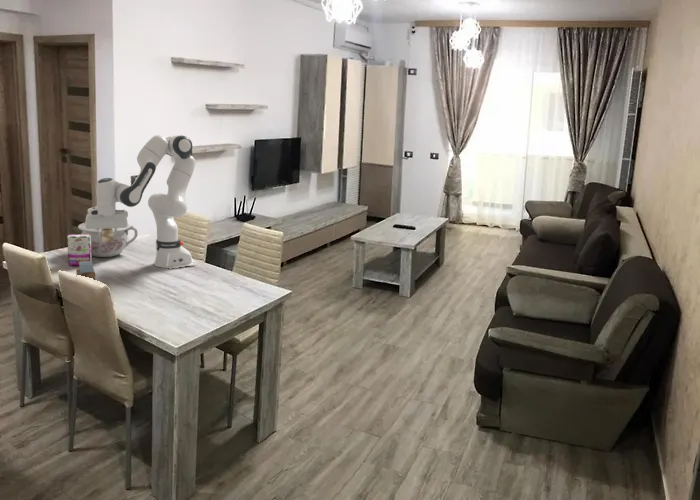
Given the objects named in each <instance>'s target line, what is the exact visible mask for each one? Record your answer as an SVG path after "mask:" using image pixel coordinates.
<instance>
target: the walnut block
mask: <svg viewBox="0 0 700 500" xmlns="http://www.w3.org/2000/svg"><path fill="white" fill-rule="evenodd" d="M94 268H95V267H93V272H86V273H80V268H76V272H75V273H76V276H77V275H81V276H85V277H89V278H93V280H96V271H95V269H94Z"/></svg>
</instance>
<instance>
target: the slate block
mask: <svg viewBox="0 0 700 500" xmlns="http://www.w3.org/2000/svg"><path fill="white" fill-rule="evenodd" d="M78 267H79V269H80V273H86V272H93V268H94V264H93V260H92V261H84V262H79V266H78Z"/></svg>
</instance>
